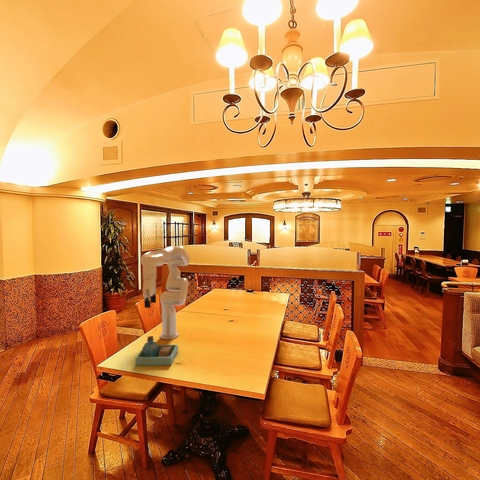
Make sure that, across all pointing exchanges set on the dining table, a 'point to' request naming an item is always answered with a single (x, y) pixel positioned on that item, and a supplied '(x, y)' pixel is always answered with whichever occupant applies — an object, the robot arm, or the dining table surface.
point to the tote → (157, 358)
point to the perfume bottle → (150, 348)
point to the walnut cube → (165, 352)
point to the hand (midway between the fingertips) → (150, 305)
